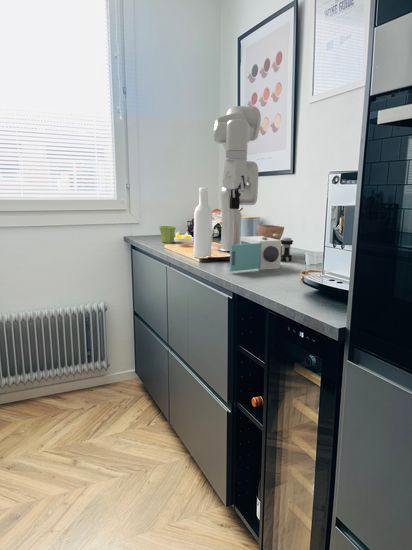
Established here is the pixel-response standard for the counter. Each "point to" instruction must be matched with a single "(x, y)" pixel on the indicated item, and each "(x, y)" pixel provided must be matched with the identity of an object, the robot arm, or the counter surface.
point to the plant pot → (167, 233)
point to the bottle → (202, 226)
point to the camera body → (266, 250)
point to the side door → (245, 256)
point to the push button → (286, 250)
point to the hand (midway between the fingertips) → (234, 208)
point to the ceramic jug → (270, 232)
